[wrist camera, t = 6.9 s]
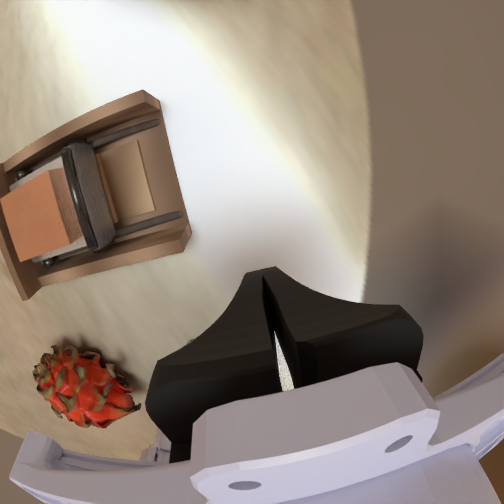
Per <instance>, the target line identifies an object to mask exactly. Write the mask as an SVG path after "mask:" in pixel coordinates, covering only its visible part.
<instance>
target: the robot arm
mask: <svg viewBox="0 0 504 504" xmlns="http://www.w3.org/2000/svg"><path fill="white" fill-rule="evenodd" d="M274 331H275V333H276V336H277V339H278V342H279V344H280V347H281V349H282V352H283V355H284V357H285V360H286V363H287V365H288V368H289V371H290V374H291V378H292V382H293V385H294V389H292V390H288V391H284V392H283V391H282V386H281V382H280V377H279V370H278V361H277V352H276V343H275V334H274ZM422 346H423V333H422V329H421V327H420V326H419V325H418V324H417V323H416V322H415V321H414V319H413V318H412V317H411V316H410V315H409V314H408V313H407V312H406V311H405V310H404V309H403V308H402V307H401V306H400V305H373V304H364V303H356V302H351V301H346V300H341V299H337V298H334V297H330V296H327V295H324V294H322V293H319V292H316V291H314V290H312V289H310V288H308V287H306V286H304V285H302V284H300V283H299V282H297V281H295V280H294V279H292V278H291V277H289V276H288V275H287V274H285V273H284V272H283V271H281V270H280V269H279V268H277V267H276V266H274V267H270V268H266V269H261V270H257V271H252V272H248V273H246V274H245V275H244V278H243V280H242V282H241V285H240V287H239V289H238V291H237V292H236V294H235V296H234V298H233V299H232V301H231V303H230V304H229V306H228V307H227V309H226V310H225V311H224V313H223V314H222V315H221V316H220V317H219V318H218V319H217V320H216V321H215V322H214V323H213V324H212V325H211V326H210V327H209V328H208V329H207V330H206V331H204V332H203V333H202V334H201V335H200V336H198V337H197V338H196V339H194V340H193V341H190V342H189V343H188V344H187V345H186V346H184V347H183V348H181V349H179V350H177V351H176V352H174V353H172V354H170V355H168V356H166V357H164V358H162V359H160V360H158V361H157V364H156V366H155V369H154V371H153V374H152V378H151V381H150V385H149V389H148V393H147V397H146V401H145V405H146V411H147V413H148V414H149V416H150V418H151V419H152V421H153V422H154V423H155V424H156V425H157V433H156V446H153V445H150V446H149V448H147V449H145V450H143V451H142V454H141V457H140V460H139V461H138V460H126V459H117V458H109V457H102V456H95V455H89V454H84V453H79V452H74V451H69V450H65V449H63V448H62V447H61V446H60V444H58V443H57V442H56V441H55V440H54V439H52V438H51V437H49V436H47V435H44V434H40V433H36V432H33V431H28V433H27V435H26V437H25V439H24V442H23V444H22V446H21V449H20V451H19V453H18V456H17V458H16V460H15V463H14V466H13V468H12V471H11V473H10V476H9V478H10V479H11V480H12V481H13V482H14V483H16V484H17V485H18V486H20V487H22V488H23V489H24V490H26V491H27V492H29V493H30V494H32V495H33V496H35V497H36V498H38V499H39V500H41V501H43V502H44V503H46V504H501V503H500V500H499V499H498V497H497V495H496V493H495V491H494V489H493V487H492V485H491V483H490V481H489V479H488V478H487V476H486V474H485V472H484V470H483V469H482V467H481V465H480V463H479V462H478V460H479V459H480V458H481V457H482V456H484V455H485V454H486V453H487V452H489V451H490V450H491V449H492V448H493V447H494V446H496V445H497V444H498V443H499V442H500V441H501V440H502V439H503V438H504V353H503V354H501V355H500V356H499V357H497V358H496V359H495V360H494V361H492V362H491V363H489V364H488V365H486V366H485V367H484V368H482V369H481V370H479V371H478V372H476V373H475V374H473V375H472V376H470V377H469V378H467V379H466V380H464V381H462V382H461V383H459V384H457V385H456V386H454V387H453V388H451V389H449V390H447V391H445V392H444V393H442V394H440V395H438V396H436V397H435V398H433V399H432V397H431V396H430V394H429V393H428V392H427V390H426V389H425V387H424V386H423V384H422V377H421V376H420V374H419V373H418V371H417V366H418V363H419V359H420V354H421V351H422Z"/></svg>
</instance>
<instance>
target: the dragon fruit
mask: <svg viewBox="0 0 504 504" xmlns="http://www.w3.org/2000/svg"><path fill="white" fill-rule="evenodd" d="M51 348H53V349H54V354H52V355H51V354H48V353H44V355H43V356H42V358H41V361H40V362H41V363H38V365H37V366H36V365H35V366H34V367H35V370H33V372H32V373H33V375H34V378H35V381H36V382H37V383H39V384H38V385H37V390H38V392H39V393H40V394H41V395H42V396H44V398H45V400H46V401H50V403H51V408H52V410H53V411H54V412H55V414H56V415H57V417H59V418H63V417H62V416H61V415H60V414H61V413H64V414H65V415H66V417H67V419H68V420H69V421H71V422H73V421H74V422H75V424H76V425H78V426H80V427H84V428H88V427H89V426H90V424H91V425H93V426H96V427H100V428H106V427H107V426H109V425H110V424H111V423H112V422H114V421H116V420H117V419H120V418H122V417H124V416H126V415H128V414H130V413H133V412H134V411H137V410H140V408H141V403H139V402H138V403H139V404H138V406H137V405H135V403H134V401H133V397H131V395H129V394H126V393H131V392H132V391H133V388H132V386H131V385H130V383H129V382H127V381H126V379H125V378H124V377H123V376H121V374H120V375H119V374H116V369H115V365H114V364H108V363H107V364H106V367H107V369H103V368H101V366H100V364H99V360H100V355H99V354H98V353H95V352H90V351H86V352H85V353H83V354H82V353H81V352H79V351H77V349H76V348H75V347H73V346H71V345H67V346H66V347H65V350H64V351H66V350H67V349H68V348H69V349H71V351H72V354H71V355H66V354H65V352H64V351H63V350H62V349H61V348H60V347H58V346H56V345H54V346H51ZM90 355H94V356H95V357H94V358H93V359H85V358H84V357H88V356H90ZM115 374H116V375H117V378H118V379H119V380H121V381H122V382H124V383H125V384H126V385H127V386H128V388H126V387H124V386H123V385H124V383H121V382H118V381H117V380H116V379H115V378H116V375H115ZM118 376H120V377H118Z"/></svg>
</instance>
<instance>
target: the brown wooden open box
mask: <svg viewBox="0 0 504 504" xmlns="http://www.w3.org/2000/svg"><path fill="white" fill-rule="evenodd" d="M80 138H87V142H88V145H92V148H93V152H94V157H95V161H96V165H97V169H98V173H99V177H100V181H101V185H102V189H103V192H104V196H105V199H106V203H107V206H108V209H109V213H110V216H111V219H112V222H113V225H114V228H115V231H116V235H115V236H114V239H115V242H116V244H115V245H114V246H112V247H110V248H108V249H106V250H104V251H101V252H98V253H93V252H92V251H90V250H89V249H88V247H87V246H85V247H81V248H78V249H75V250H72V251H69V252H66V253H63V254H60V255H57V256H54V259H55V261H56V263H55V264H54V265H52V266H50V267H48V268H45V266H44V264H43V261H39V262H36V263H33V261H32V258H30V259H28V260H25V261H22V262H20V260H19V258H18V255H17V253H16V250H15V247H14V244H13V241H12V238H11V235H10V232H9V229H8V226H7V223H6V219H5V216H4V212H3V209H2V205H1V201H0V248H1V251H2V254H3V257H4V259H5V262H6V264H7V267H8V269H9V272H10V274H11V277H12V279H13V281H14V283H15V286H16V288H17V290H18V292H19V294H20V296H21V299H22V301H25V300H29V299H30V298H31V297H32V296H33V295H34V294H35V293H36V292H37V291H38V290H39V289H40V288H41V287H44V286H47V285H51V284H55V283H59V282H63V281H67V280H71V279H75V278H78V277H82V276H86V275H90V274H94V273H98V272H102V271H106V270H110V269H114V268H118V267H123V266H127V265H131V264H135V263H139V262H143V261H147V260H151V259H156V258H160V257H164V256H168V255H172V254H177V253H181V252H184V249H185V247H186V245H187V242H188V240H189V238H190V235H191V233H192V231H191V228H190V224H189V221H188V217H187V213H186V210H185V206H184V202H183V199H182V195H181V191H180V187H179V183H178V179H177V175H176V171H175V167H174V163H173V159H172V155H171V151H170V146H169V142H168V138H167V133H166V129H165V124H164V120H163V115H162V110H161V106H160V101H159V100H158V99H156V98H155V97H153V96H152V95H150V94H149V93H147V92H146V91H144V90H140V91H137V92H135V93H132V94H129V95H127V96H124V97H122V98H119V99H117V100H114V101H112V102H110V103H107V104H105V105H103V106H100V107H98V108H96V109H94V110H92V111H90V112H87V113H85V114H83V115H81V116H79V117H77V118H75V119H73V120H71V121H70V122H68V123H66V124H64V125H62V126H60V127H58V128H57V129H55V130H53V131H51V132H50V133H48V134H46V135H45V136H43V137H41V138H40V139H38V140H36V141H35V142H33V143H32V144H30V145H28V146H27V147H25V148H24V149H22V150H21V151H19V152H18V153H16V154H15V155H14V156H12V157H11V158H9V159H8V160H7V161H5V162H4V163H1V164H0V199H1V198H2V197H4V196H5V195H7V194H8V193H10V192H11V191H10V187H9V186H11V185H13V184H14V183H16V182H17V181H18V180H17V176H16V173H17V172H18V171H20V170H22V169H25V168H27V169H28V174H30V173H32V172H34V171H36V170H37V169H39V168H41V167H43V166H44V165H46V164H48V163H50V162H52V161H54V160H56V159H57V158H59V157H61V150H62V149H63V146H64V145H65V144H67V143H69V142H71V141H73V140H76V139H80Z"/></svg>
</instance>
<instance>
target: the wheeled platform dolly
mask: <svg viewBox="0 0 504 504" xmlns="http://www.w3.org/2000/svg"><path fill="white" fill-rule="evenodd" d="M16 176H17V180H18V181H17V182H16V183H14V184H13V185H11V186H9V187H10V191H11V192H10V193H8V194H7V195H5V196H4V197H2V198H1V199H0V201H1V205H2V209H3V212H4V216H5V219H6V223H7V226H8V229H9V232H10V235H11V238H12V241H13V244H14V247H15V250H16V253H17V255H18V258H19V260H20V262H22V261H25V260H28V259H30V258H32V261H33V263H36V262H39V261H43V264H44V266H45V268H48V267H50V266H52V265H54V264H55V263H56V261H55V259H54V256H57V255H60V254H63V253H66V252H69V251H72V250H75V249H78V248H81V247H85V246H87V247H88V249H89V250H90V251H92V252H93V253H98V252H101V251H104V250H106V249H108V248H110V247H112V246H114V245H115V244H116V242H115V239H114V236H115V235H116V231H115V228H114V225H113V222H112V219H111V216H110V213H109V209H108V206H107V203H106V199H105V196H104V192H103V189H102V185H101V181H100V177H99V173H98V169H97V165H96V161H95V157H94V152H93V148H92V145H88V142H87V138H80V139H76V140H73V141H71V142H69V143H67V144H65V145H64V146H63V149H62V150H61V157H59V158H57V159H56V160H54V161H52V162H50V163H48V164H46V165H44V166H43V167H41V168H39V169H37V170H36V171H34V172H32V173H30V174H28V169H27V168H25V169H22V170H20V171H18V172H17V173H16Z"/></svg>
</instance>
